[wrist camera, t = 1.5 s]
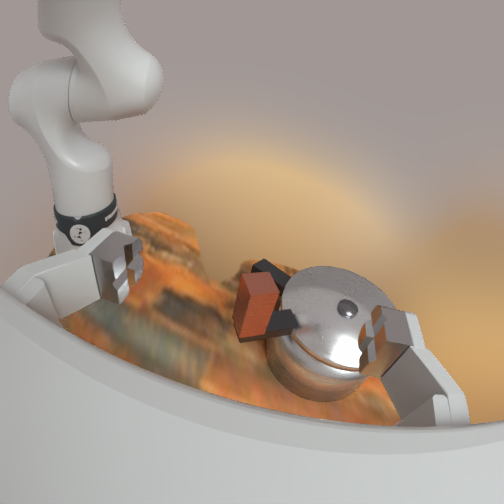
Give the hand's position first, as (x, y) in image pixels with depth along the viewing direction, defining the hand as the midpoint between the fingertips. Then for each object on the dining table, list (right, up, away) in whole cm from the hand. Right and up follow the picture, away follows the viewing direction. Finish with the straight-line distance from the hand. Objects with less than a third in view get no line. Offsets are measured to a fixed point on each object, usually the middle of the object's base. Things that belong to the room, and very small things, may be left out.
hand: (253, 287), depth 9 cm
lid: (+10, -8, +27) cm, 30 cm away
